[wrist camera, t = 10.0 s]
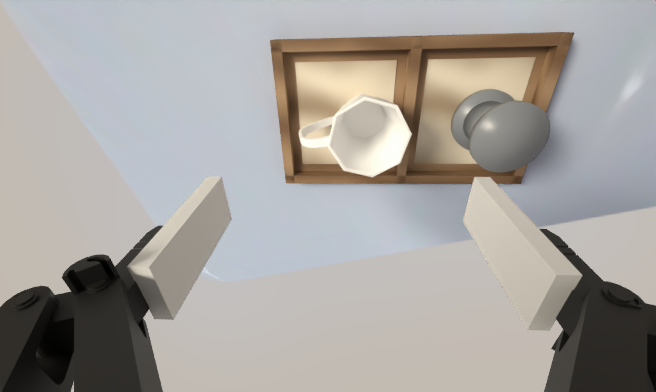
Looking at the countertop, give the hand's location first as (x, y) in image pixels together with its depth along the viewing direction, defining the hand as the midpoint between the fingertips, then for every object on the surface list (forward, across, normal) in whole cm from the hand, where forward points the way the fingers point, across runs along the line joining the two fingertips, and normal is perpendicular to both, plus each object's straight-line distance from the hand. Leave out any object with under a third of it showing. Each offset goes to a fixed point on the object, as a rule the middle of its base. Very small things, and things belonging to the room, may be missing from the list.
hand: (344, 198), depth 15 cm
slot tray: (+19, +6, -1) cm, 20 cm away
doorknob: (+18, +14, -1) cm, 23 cm away
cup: (+18, 0, -1) cm, 18 cm away
